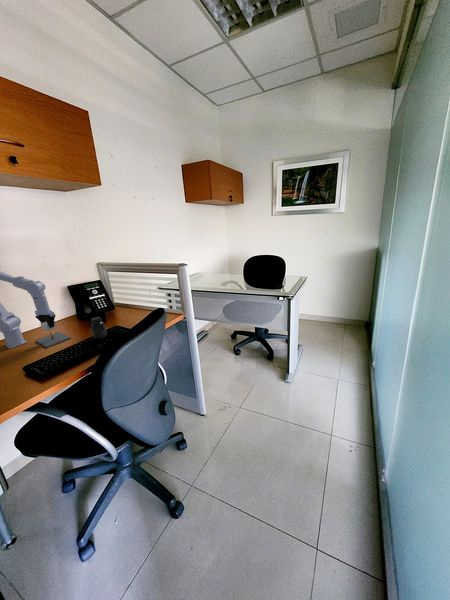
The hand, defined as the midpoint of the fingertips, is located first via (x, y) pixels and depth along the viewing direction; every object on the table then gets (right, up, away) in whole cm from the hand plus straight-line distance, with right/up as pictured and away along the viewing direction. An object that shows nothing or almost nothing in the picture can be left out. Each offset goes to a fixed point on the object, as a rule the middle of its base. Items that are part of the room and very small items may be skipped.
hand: (49, 326), depth 133 cm
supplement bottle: (+29, -7, +1) cm, 30 cm away
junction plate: (+1, -8, +3) cm, 8 cm away
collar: (0, -1, +1) cm, 1 cm away
